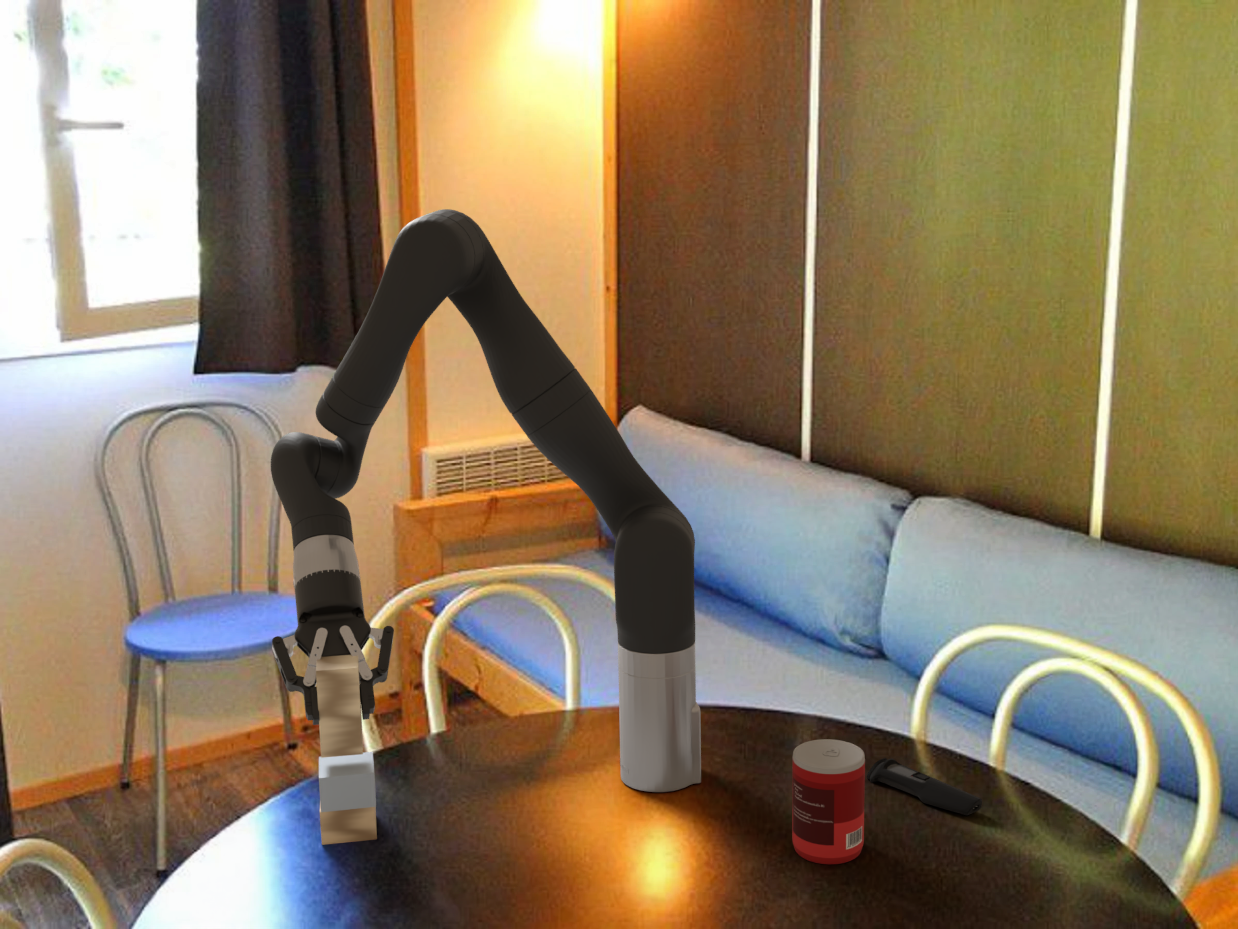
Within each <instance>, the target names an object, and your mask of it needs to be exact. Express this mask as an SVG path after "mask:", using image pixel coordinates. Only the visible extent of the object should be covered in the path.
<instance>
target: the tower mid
mask: <svg viewBox="0 0 1238 929" xmlns="http://www.w3.org/2000/svg"><path fill="white" fill-rule="evenodd" d="M375 775H376V774H375V762H374V752H373V751H366V752H364V751H363V754H359V755H347V756H335V757H323V758H321V756H318V788H319V790H318V791H319V806H320V805H321V812H329V811H339V810H349V809H358V808H368V807H375V808H376V807H377V796H376V795H377V794H376V792H377V791H376V777H375Z"/></svg>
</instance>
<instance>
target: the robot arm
mask: <svg viewBox="0 0 1238 929" xmlns="http://www.w3.org/2000/svg"><path fill="white" fill-rule="evenodd" d="M446 298H448V299H449V301H450V302H451V303H452V304H453V305H454V306H455V308H456V309H457V310H458V312H459V313H460V314H461V315H462V317H463V318H464V319H465V321H466V322H467V324H468V325H469V326H470V328H471V329H472V331H473V333H474V334H475V337H476V338H477V341H478V342H479V344H480V347H481V349H482V352H483V355H484V358H485V361H486V364H487V366H488V369H489V372H490V375H491V377H492V380H493V383H494V386H495V388H496V391H497V393H498V395H499V397H500V399H501V400H502V402H503V404H504V406H505V408H506V409H507V411H508V412H509V413H510V414H511V416H512V417H513V419H514V420H515V422H516V423H517V424H518V425H519V427H520V429H521V430H522V431H523V432H524V434H525V435H526V437H527V438H528V439H529V441H530V442H531V443H532V444H533V446H535V448H536V449H537V450H538V451H539V452H540V453H541V454H542V455H543V456H544V458H546V459H547V460H548V461H549V462H550V463H551V464H553V466H555V468H557V469H558V470H560V472H562V473H563V474H564V475H565V476H567V477H568V478H569V480H571V481H572V482H574V484H576V485H577V487H579V488H580V489H581V491H583V493H584V494H585V495H586V496H587V497H588V499H589V500H590V502H591V503H592V504H593V505H594V507H595V508H596V510H597V512H598V513H599V515H600V516H601V517H602V519H603V521H604V523H605V525H606V526H607V528H608V529H609V531H610V533H611V535H612V536H613V538H614V541H615V544H614V550H613V576H614V578H613V580H614V605H615V606H614V607H615V608H614V611H615V622H616V623H615V624H616V629H617V630H616V631H617V657H618V658H617V659H618V660H617V664H618V666H617V667H618V669H617V671H618V710H619V711H618V714H619V715H618V716H619V717H618V718H619V756H620V757H619V766H620V779H621V782H623V784H625V785H626V786H627V787H630V788H632V789H635V790H638V791H644V792H648V793H649V792H652V793H667V792H674V791H678V790H681V789H684V788H686V787H688V786H690V785H693V784H701V783H702V756H701V755H702V754H701V753H702V750H701V748H702V746H701V745H702V742H701V738H702V735H701V734H702V733H701V723H702V722H701V706H699V704H698V703H697V694H696V693H697V689H696V686H697V685H696V681H697V680H696V677H697V676H696V674H697V673H696V672H697V671H696V611H695V548H696V546H695V545H696V542H695V541H696V540H695V539H696V538H695V534H694V530H693V528H692V527H693V526H692V524H691V523H690V522H689V520H688V518H687V517H686V515H685V514H684V513H683V512H682V511H681V510H680V509H679V508H678V507H677V506H676V504H674V502H673V501H672V500H671V499H670V498H669V497H668V496H667V494H665V493H664V491H663V490H662V489H661V488H660V487H659V486H658V485H657V484H656V482H655V481H654V480H653V479H652V478H651V476H649V474H648V473H647V472H646V471H645V470H644V469H643V467H642V466H641V464H640V463H639V461H637V459H636V458H635V457H634V455H633V454H632V452H631V450H630V449H629V447H628V445H627V444H626V442H625V440H624V439H623V436H621V432H619V430H618V428H617V427H616V426H615V424H614V422H613V421H612V419H611V418H610V416H609V415H608V413H607V411H606V410H605V408H604V407H603V405H602V404H601V402H600V401H599V399H598V397H597V396H596V394H595V393H594V391H593V390H592V389H591V387H590V386H589V385H588V383H587V382H586V380H585V378H583V376H582V375H581V374H580V371H578V369H577V368H576V366H575V365H574V364H573V362H572V361H571V360H570V359H569V358H568V356H567V355H566V354H565V352H564V351H563V350H562V348H561V347H560V346H559V344H558V343H557V342H556V341H555V339H554V338H553V336H552V334H551V333H550V332H549V331H548V329H547V328H546V327H545V326H544V324H543V323H542V321H541V320H540V318H538V316H537V315H536V314H535V312H534V311H533V309H532V308H531V307H530V306H529V304H527V302H526V301H525V299H524V298H523V296H522V295H521V293H520V292H519V290H518V289H517V287H516V285H515V284H514V282H513V280H512V278H511V277H510V275H509V273H508V272H507V270H506V268H505V267H504V265H503V263H502V262H501V260H500V258H499V256H498V254H497V253H496V250H495V249H494V247H493V245H492V244H491V243H490V240H489V238H488V237H487V235H486V233H485V232H484V231H483V229H482V228H481V226H480V225H479V224H478V223H477V222H476V221H475V220H474V219H473V218H471V217H470V216H468V215H467V214H465V213H463V212H461V211H458V210H455V209H451V208H449V209H438V210H434V211H433V212H430V213H427V214H424V215H422V216H418V217H417V218H415V219H412V220H411V221H410V222H408V223H407V224H405V225H404V226H403V227H402V229H401V230H400V231H399V233H398V234H397V236H396V239H395V241H394V243H393V246H392V249H391V252H390V253H389V257H388V260H387V262H386V264H385V268H384V271H383V274H382V277H381V280H380V282H379V285H378V288H377V290H376V293H375V295H374V298H373V300H372V303H371V305H370V307H369V308H368V312H367V314H366V315H365V318H364V320H363V322H362V324H361V326H360V328H359V330H358V332H357V334H356V335H355V337H354V339H353V341H352V342H351V344H350V345H349V348H348V349H347V351H346V353H345V355H344V356H343V359H342V360H341V361H340V363H339V365H338V366H337V368H336V370H335V372H334V373H333V375H332V377H331V378H330V379H329V382H328V384H327V386H326V388H325V389H324V391H323V393H322V395H321V396H320V398H319V400H318V401H317V404H316V407H315V416H316V419H317V421H318V423H319V424H320V425H321V426H322V427H323V429H325V430H326V431H328V432H329V433H331V434H332V435H334V436H335V437H336V438H335V439H334V440H332V439H328V438H324V437H320V436H316V435H312V434H309V433H305V432H300V431H299V432H298V431H293V432H288V433H286V434H285V435H283V436H281V437H280V438H279V440H277V442H276V444H275V445H274V447H273V449H272V451H271V452H272V453H271V456H270V475H271V478H272V482H273V484H274V487H275V490H276V492H277V495H278V497H279V499H280V502H281V504H282V506H283V510H284V512H285V514H286V515H285V516H287V519H288V521H289V524H290V527H291V528H290V529H291V538H292V547H293V562H292V575H293V582H292V583H293V584H292V585H293V589H294V597H295V598H294V599H295V609H296V610H295V611H296V620H297V627H296V629H295V631H294V634H293V635H290V636H287V637H284V638H283V637H281V636H278V635H277V636H276V635H275V637H273V638H272V640H271V646H272V647H271V648H272V654H273V657H274V660H275V662H276V664H277V667H278V670H279V672H280V676H281V678H282V681H283V683H284V685H285V689H286V690H287V691H288V692H291V693H293V692H299V693H301V694H302V695H303V701H304V711H305V712H304V713H305V718H306V719H307V721H309V722H310V721H312V725H313V726H319V721H320V718H319V710H318V698H317V681H316V663H317V660H319V659H321V657H327V656H341V655H351V656H358V663H359V679H360V700H361V716H362V721H364V720H370V716H371V715H373V714H374V712H375V709H376V700H375V691H374V686H375V685H376V684H378V683H385V682H386V681H387V679H388V676H389V667H390V661H391V655H392V648H393V644H394V643H393V642H394V635H395V634H394V633H395V629H394V627H393V626H392V625H386V626H385V627H384V628H380V627H379V628H378V627H371V625H370V624H369V622H368V621H367V619H366V618H365V609H364V599H363V590H362V583H361V575H360V568H359V567H360V566H359V560H358V557H357V552H356V548H355V544H354V542H355V541H354V533H353V525H352V518H351V513H350V510H349V509H348V506H346V504H344V503H343V502H342V501H340V500H338V499H339V498H342V497H343V496H346V495H347V494H348V493H349V492H351V490H352V489H353V488H354V487H355V486H356V483H358V479H359V476H360V472H361V467H362V463H363V459H364V454H365V450H366V447H367V444H368V440H369V437H370V434H371V431H372V428H373V426H374V425H375V424H376V421H377V420H378V418H379V417H380V415H381V413H382V412H383V410H384V409H385V407H386V405H387V403H388V401H389V400H390V398H391V396H392V394H393V393H394V390H395V388H396V387H397V385H398V382H399V379H400V377H401V374H402V372H403V369H404V367H405V366H404V365H405V362H406V360H407V358H408V355H409V352H410V350H411V347H412V345H413V344H414V341H415V339H416V337H418V334H419V333H420V331H421V329H422V328H423V327H424V325H425V324H426V322H427V321H428V319H429V318H430V317H431V316H432V315H433V313H434V312H435V311H436V310H437V309H438V308H439V306H440V305H441V304H442V303H444V301H445V299H446ZM370 639H371V640H372V641H373V645H374V647H375V648H377V649H379V653H378V654H379V655H378V660H377V667H374V668H370V667H369V664H368V662H367V660H366V657H365V655H364V653H363V651H362V650H363V649H364V647H365V646H366V645H367V643H368V641H369V640H370ZM295 647H298V649H299V650H301V652H302V653H303V654H305V655H306V657H308V662H307V666H306V670H305V673H304V676H301V675H297V672H296V669H295V668H294V667H295V666H294V664H293V662H292V659H291V658H292V656H293V655H294V648H295Z"/></svg>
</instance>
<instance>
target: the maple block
mask: <svg viewBox="0 0 1238 929" xmlns="http://www.w3.org/2000/svg"><path fill="white" fill-rule="evenodd" d="M316 681H317V683H316V687H317V698H318V710H319V718H320V721H319V725H318V726H319V727H318V728H319V743H320V745H319V746H320V757H321V758H323V757H335V756H347V755H359V754H363V753H364V742H363V740H364V738H363V717H362V708H361V700H360V679H359V663H358V656H351V655H341V656H327V657H321V659H319V660H317V663H316Z"/></svg>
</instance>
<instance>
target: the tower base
mask: <svg viewBox="0 0 1238 929" xmlns="http://www.w3.org/2000/svg"><path fill="white" fill-rule="evenodd" d="M376 810H377V809H376V807H368V808H358V809H349V810H339V811H329V812H321V805H320V804H319V822H320V823H319V825H320V835H321V836H320V838H321V840H320V841H321V845H322V846H323V845H335V844H343V843H351V842H352V843H354V842H363V841H373V840H377V839H378V835H377V830H378V829H377V812H376Z"/></svg>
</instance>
